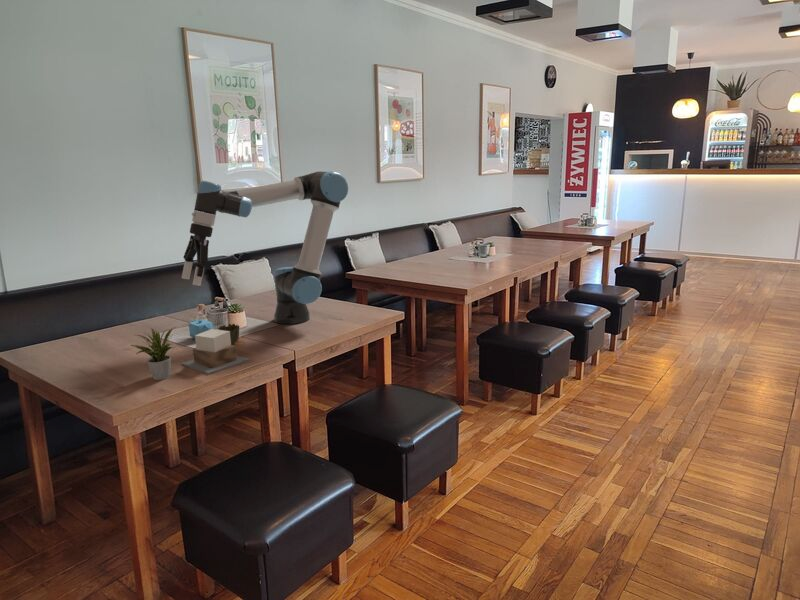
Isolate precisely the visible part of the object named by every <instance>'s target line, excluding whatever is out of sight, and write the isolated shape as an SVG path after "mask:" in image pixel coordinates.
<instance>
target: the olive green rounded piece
mask: <svg viewBox="0 0 800 600" xmlns="http://www.w3.org/2000/svg"><path fill="white" fill-rule="evenodd" d="M217 330H224V331H230V338H231V345H233V346H235V347H236V345H237V344H236V343H238V341H239V338H240V324H235V323H232V324H230V323H229V324H228V325H227V326H226V325H225V324H223V325H220V326H219V327H218V329H217Z"/></svg>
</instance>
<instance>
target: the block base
mask: <svg viewBox="0 0 800 600" xmlns="http://www.w3.org/2000/svg"><path fill="white" fill-rule="evenodd" d="M192 353H193V359H194V362H195V363H198V364H200V365H203V366H206V367H208V368H214V367H217V366H220V365H223V364H226V363H229V362H232V361H235V360H237V359H236V355H237V351H236V346H233V345H230V346H228V347H226V348H224V349H221V350H219V351H217V352H209V351H203V350H197V349H196V347H194V348H192Z"/></svg>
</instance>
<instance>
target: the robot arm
mask: <svg viewBox="0 0 800 600" xmlns="http://www.w3.org/2000/svg"><path fill="white" fill-rule="evenodd" d="M348 185H349V184H348V181H347V180H346V177H344V175H343V174H341V173H340V172H336V171H330V170H329V171H315V172H311V173H308V174H305V175H300V176H297V177H296V176H295V177H294V178H293V180H287V181H283V182H278V183H272V184H266V185H262V186H256V187H249V188H243V189H238V190H235V191H229V192H227V191H223V190H222V185H221V184H218V183H216V182H211V181H207V180H202V181H200V183H199V185H198V188H197V192H196V198H195V205H194V209H193V212H192V213H191V216H192V219H191V222H192V223H191V224H190V228H189V233H190V234H191V235H190V237H189V241H188V244H187V245H186V249H185V252H184V255H183V259H184V264H183V269H182V274H181V279H183V280H190V278H191V273H192V269H193V263H194V261H195V260H194V259H195V256H196V262H197V263H196V264H195V270H194V276H193V280H192V286H199V287H201V286H202V283H203V276H204V271H205V268H207V267H208V266H209V265H208V262H209V261H208V259H209V244H210V240H209V239H207V238H212V234H213V230H214V228H213V226H214V225H215V221H216V215H217V212H218V213H221V214H222V213H223V214H227V215H233V216H236V217H239V218H240V217H241V218H248V217H249V216H250V214H251V211H252V210H253V209H252V208H256V207H261V206H267V205H272V204H277V203H282V202H287V201H292V200H299V201H304V200H310V203H311V204H312V207H311V208H312V209H311V213H310V217H309V220H308V225H307V228H306V232H305V235H304V239H303V244H302V246H301V251H300V256H299V258H298V263H296V264H295V265H293V266H283V267H280V268H276V269H275V271H274V279H275V280H274V281H275V283H274V284H275V292H276V293H275V294H276V295H275V296H276V307H275V312H274V316H273V318H274V319H273V320H274V322H275V323H277V324H282V325H294V324H295V325H296V324H300V323H305V322H308V321H309V320H310V319H311V317H310V311H309V309H308V306H307V305H309V304H313V303H315V302H316V301H317V300H319V298H320V296H321V295H322V290H323V286H322V283H321V277H322V272H321V271H320V265H321V261H322V257H323V254H324V250H325V247H326V242H327V239H328V234H329V231H330V228H331V224H332V220H333V217H334V216H333V215H334V213H335V212H336V211H338V210H339V208H340V204H341V201H343V200H345V198H346V197H347V195H348V193H349V186H348Z"/></svg>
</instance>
